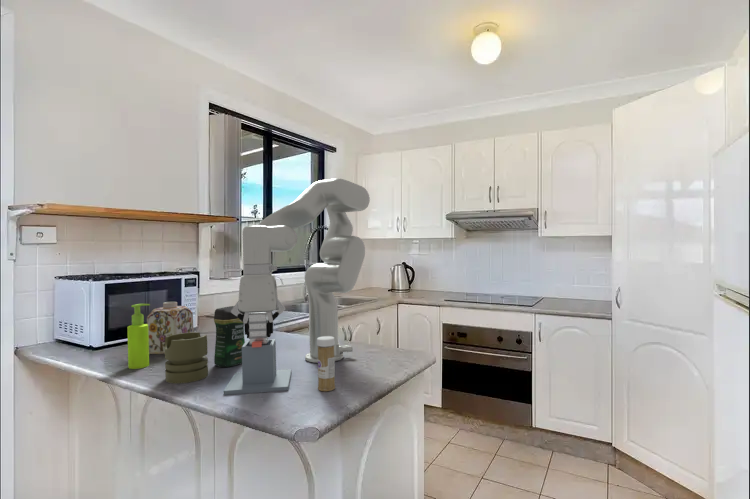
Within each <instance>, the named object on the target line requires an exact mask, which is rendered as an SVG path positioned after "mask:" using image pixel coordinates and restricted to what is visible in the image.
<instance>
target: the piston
mask: <svg viewBox="0 0 750 499" xmlns="http://www.w3.org/2000/svg"><path fill="white" fill-rule="evenodd" d="M207 355H208V336H207V334H205V335H202V336H201V333H200V332H199V331H194V332H190V333H180V334H174V335H170V336H167V337H165V354H164V359H165V360H166V361H164V366H165V368H164V369H165V372H164V373H165V382H167V383H169V384H189V383H194V382H197V381H200V380H203V379H205V378H207V377H208V375H209V364H208V363H209V361H208V356H207Z"/></svg>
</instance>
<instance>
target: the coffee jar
mask: <svg viewBox="0 0 750 499" xmlns="http://www.w3.org/2000/svg"><path fill="white" fill-rule="evenodd" d="M234 306H235V305H231V306H225V307H224V306H223V307H219V308H216V309H215V310H214V313H213V314H214V315H213V321H214V325H215V344H214V345H215V346H214V357H213V358H214V359H213V364H214V365H215V366H217V367H219V368H222V367H226V368H229V367H234V366H238V365H240V364H241V365H242V346H243V345H244V343H245V342H246V341H245V330H244V323H243V322H242V321H241V320H240V319H239V318H238V317H237V316H235V315H234V314H232V313H231V310H232V309H233V307H234ZM238 311H239V312H240V313H242V314H243V315H244V314H245V313H244V312H241V311H240V310H239V309H238Z"/></svg>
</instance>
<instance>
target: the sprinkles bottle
mask: <svg viewBox="0 0 750 499" xmlns="http://www.w3.org/2000/svg"><path fill="white" fill-rule="evenodd" d="M334 344H335V340H334V337H331V336H322V337H319V338H317V346H318V363H317V379H318V381H317V382H318V385H317V389H318V390H319V391H321V392H332V391H333V390H335V389H336V382H335V374H336V370H335V369H336V368H335V367H336V366H335V362H336V361H335V359H334Z"/></svg>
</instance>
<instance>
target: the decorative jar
mask: <svg viewBox="0 0 750 499" xmlns="http://www.w3.org/2000/svg"><path fill="white" fill-rule="evenodd" d="M146 324H147V325H148V335H149V355H165V337H167V336H170V335H174V334H180V333H190V332H195V331H194V328H195V327H194V314H193V311H192V310H191V309H190V308H189V307H188V306H186V305H178V302H177V301H166V302H163V303H162V306H160V307H157V308H154V309H153V310H151V312H150V313H149V314H148V315H147V316H146Z"/></svg>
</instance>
